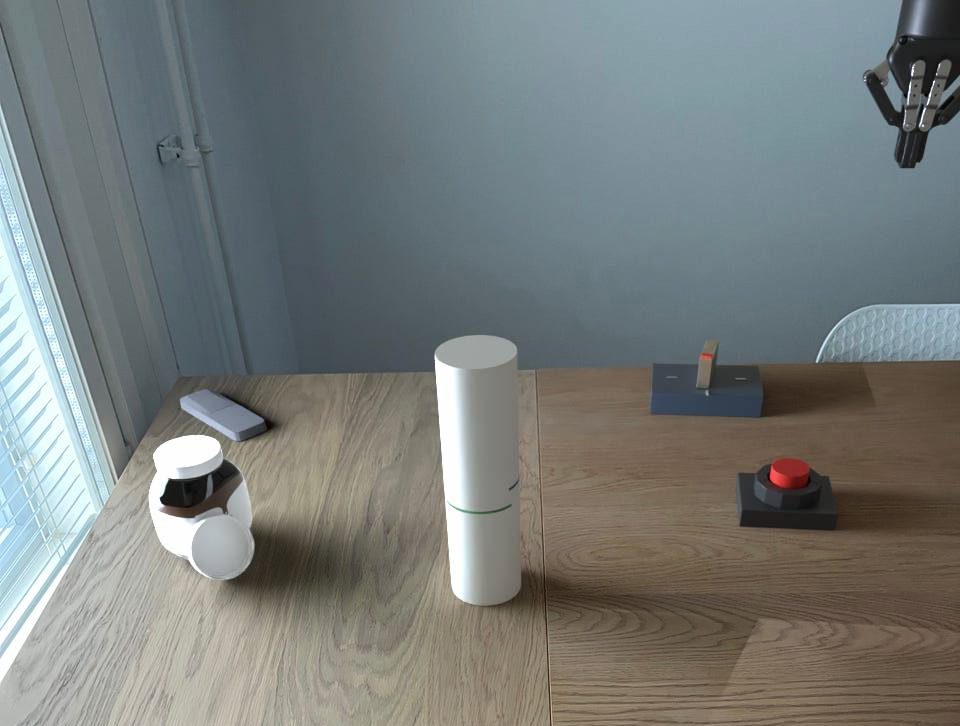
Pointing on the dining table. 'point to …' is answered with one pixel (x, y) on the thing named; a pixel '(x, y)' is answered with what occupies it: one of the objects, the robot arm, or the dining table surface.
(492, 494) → the cylindrical container
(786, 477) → the button
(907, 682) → the dining table surface
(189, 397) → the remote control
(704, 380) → the beige rectangular block
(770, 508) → the button box
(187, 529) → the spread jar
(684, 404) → the switch panel
